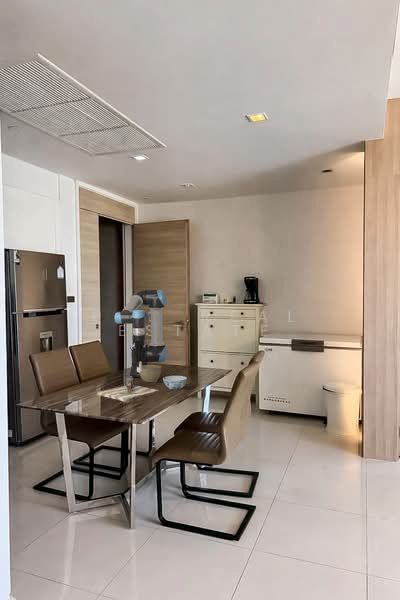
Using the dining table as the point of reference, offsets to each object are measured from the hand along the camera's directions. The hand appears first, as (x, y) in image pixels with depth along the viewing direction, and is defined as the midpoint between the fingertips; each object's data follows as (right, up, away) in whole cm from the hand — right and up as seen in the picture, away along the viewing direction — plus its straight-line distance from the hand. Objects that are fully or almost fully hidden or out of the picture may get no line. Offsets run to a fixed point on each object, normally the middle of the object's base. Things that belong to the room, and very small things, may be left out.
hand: (139, 371), depth 259 cm
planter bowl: (+4, -12, +28) cm, 30 cm away
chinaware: (+22, -13, +3) cm, 26 cm away
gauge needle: (-6, -11, -1) cm, 12 cm away
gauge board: (-6, -13, -5) cm, 15 cm away
